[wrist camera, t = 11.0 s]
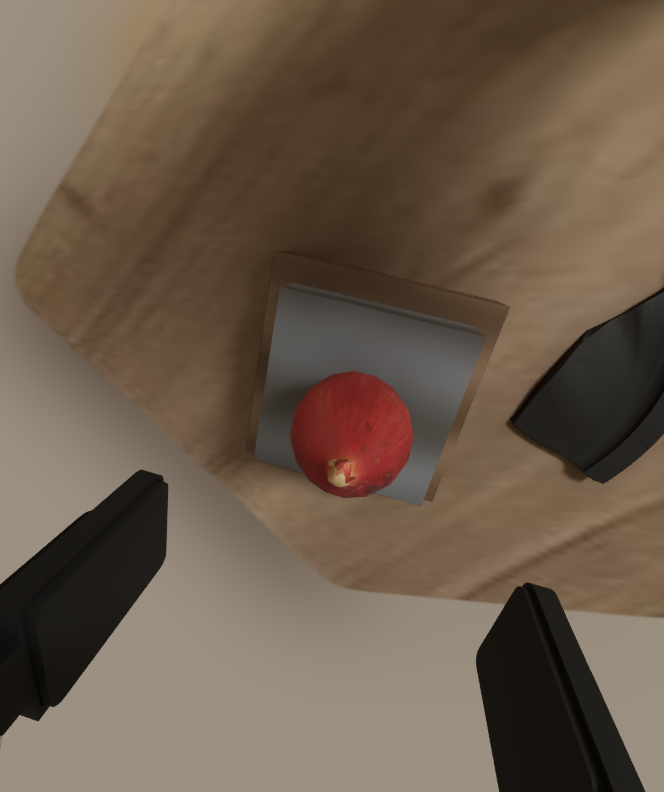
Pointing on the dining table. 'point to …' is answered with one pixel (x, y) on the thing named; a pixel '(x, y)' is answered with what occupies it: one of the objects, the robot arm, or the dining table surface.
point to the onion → (351, 434)
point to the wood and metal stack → (371, 357)
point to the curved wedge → (604, 394)
